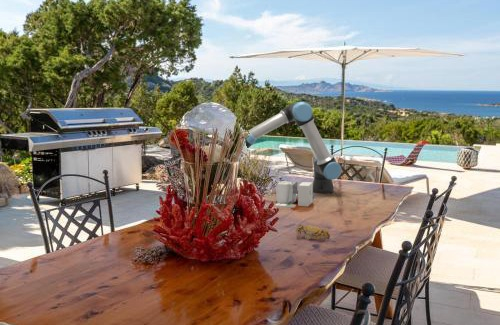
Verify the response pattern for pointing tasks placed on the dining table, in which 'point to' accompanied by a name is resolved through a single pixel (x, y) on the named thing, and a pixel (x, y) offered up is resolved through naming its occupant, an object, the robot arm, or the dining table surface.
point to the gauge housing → (302, 195)
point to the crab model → (312, 232)
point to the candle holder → (282, 192)
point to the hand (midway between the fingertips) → (270, 192)
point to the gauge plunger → (292, 192)
